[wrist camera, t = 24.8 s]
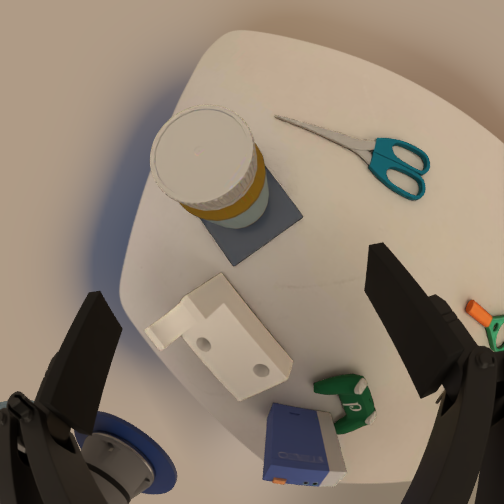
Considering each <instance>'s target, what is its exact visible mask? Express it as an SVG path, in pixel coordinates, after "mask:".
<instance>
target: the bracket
mask: <svg viewBox="0 0 504 504" xmlns="http://www.w3.org/2000/svg"><path fill="white" fill-rule="evenodd" d="M180 301H181V302H180V303H179V304H178V305H177V306H176V307H174V308H173V309H172V310H171V311H169V312H168V313H167V314H165V315H164V316H163V317H162V318H160V319H159V320H157V321H156V322H155V323H153V324H152V325H150V326H149V327H148V328H147V329H145V330H144V331H145V332H146V334H147V335H148V336H149V338H150V339H151V340H152V342H153V343H154V344H155V345H156V347H157V348H158V349H159V350H160V351H162V350H163V349H164V348H166V347H167V346H168V345H169V344H171V343H172V342H173V341H174V340H176V339H177V338H178V337H179V336H182V338H183V339H184V340H185V341H186V343H187V344H188V345H189V346H190V347H191V349H192V350H193V351H194V352H195V353H196V355H197V356H198V357H199V358H200V359H201V361H202V362H203V363H204V364H205V365H206V366H207V367H208V369H209V370H210V371H211V372H212V373H213V374H214V375H215V376H216V378H217V379H218V380H219V381H220V382H221V383H222V384H223V385H224V386H225V387H226V388H227V389H228V391H229V392H230V393H231V394H232V395H233V396H234V397H235V398H236V399H237V400H238V401H242V400H244V399H246V398H249V397H251V396H253V395H256V394H258V393H260V392H262V391H265V390H267V389H269V388H271V387H273V386H276V385H278V384H280V383H282V382H284V381H286V380H288V378H289V375H290V372H291V368H292V365H293V360H292V359H291V358H290V357H289V356H288V354H287V353H286V352H285V351H284V350H283V348H282V347H281V346H280V345H279V344H278V342H277V341H276V340H275V339H274V338H273V336H272V335H271V334H270V333H269V332H268V330H267V329H266V328H265V327H264V326H263V324H262V323H261V322H260V321H259V319H258V318H257V317H256V316H255V314H254V313H253V312H252V311H251V310H250V308H249V307H248V306H247V305H246V303H245V302H244V301H243V300H242V298H241V297H240V296H239V295H238V293H237V292H236V291H235V289H234V288H233V287H232V286H231V284H230V283H229V282H228V281H227V279H226V278H225V277H224V275H223V274H222V273H220V274H218V275H217V276H215V277H214V278H212V279H210V280H209V281H207V282H206V283H204V284H203V285H201V286H199V287H198V288H196V289H195V290H193V291H192V292H190V293H189V294H187V295H186V296H185V297H183V298H182V299H181V300H180Z"/></svg>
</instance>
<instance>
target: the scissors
mask: <svg viewBox="0 0 504 504" xmlns="http://www.w3.org/2000/svg"><path fill="white" fill-rule="evenodd" d="M275 118H278V119H281V120H283V121H286V122H289V123H291V124H294V125H296V126H299V127H301V128H304V129H306V130H309V131H311V132H313V133H316V134H318V135H320V136H322V137H325V138H327V139H329V140H331V141H333V142H335V143H337V144H340V145H342V146H344V147H346V148H348V149H350V150H352V151H353V152H355V153H357V154H358V155H359V156H360V157H361V158H362V159H363V160H364V161H365V162H366V163H368V164H369V167H368V169H369V170H370V171H371V172H372V173H373V174H374V175H375V176H376V177H377V178H378V179H379V180H380V181H381V182H382V183H383V184H384V185H386V186H387V187H388V188H389V189H391V190H392V191H394V192H396V193H397V194H399V195H401V196H403V197H405V198H407V199H410V200H418V199H420V198H421V197H422V196H423V195H424V193H425V183H424V180H423V179H422V177H421V175H424V174H425V173H426V172H428V171H429V168H430V161H429V158H428V156H427V155H426V153H425V152H423V151H422V150H421V149H419V148H417V147H415V146H413V145H411V144H409V143H407V142H404V141H401V140H396V139H391V138H377V139H376V140H375V141H372V140H361V139H357V138H353V137H350V136H348V135H345V134H342V133H339V132H336V131H332V130H329V129H326V128H322V127H319V126H315V125H312V124H309V123H305V122H302V121H298V120H294V119H290V118H287V117H283V116H279V115H275ZM394 145H395V146H400V147H403V148H405V149H407V150H410V151H412V152H413V153H415V154H417V155H418V156H420V157H421V158H422V160H423V163H424V168H423V170H422V171H421V170H418V169H416V168H414V167H412V166H410V165H408V164H407V163H405V162H403V161H402V160H400V159H399V158H397V156H396V155H395V154H394V152H393V150H392V146H394ZM368 150H373V152H372V155H371V154H370V152H369V151H368ZM387 169H394V170H397V171H400V172H402V173H404V174H406V175H408V176H410V177H412V178H413V179H415V180H416V181H417V183H418V185H419V193H418V194H417V195H416V196H415V195H412V194H410V193H408V192H406V191H404V190H402V189H401V188H399V187H397V186H396V185H394V184H393V183H391V182H390V180H389V179H388V177H387V175H386V171H387Z"/></svg>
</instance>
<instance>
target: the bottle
mask: <svg viewBox="0 0 504 504" xmlns="http://www.w3.org/2000/svg"><path fill="white" fill-rule="evenodd" d="M150 167H151V172H152V175H153V178H154V180H155V182H156V183H157V185H158V187H159V188H160V189H161V190H162V191H163V192H165V194H166V195H167V196H169V197H170V198H172V199H174V200H175V201H178V202H179V203H180V204H181V205H182V206H183V207H184V208H185V209H186V210H187V211H188V212H190V213H191V214H193V215H195V216H197V217H199V218H202V219H204V220H207V221H209V222H212V223H215V224H217V225H220V226H223V227H226V228H234V229H238V228H243V227H247V226H249V225H251V224H253V223H254V222H256V221H257V220H258V219H259V218H260V217H261V216H262V215H263V213H264V211H265V209H266V207H267V204H268V197H269V191H268V183H267V176H266V169H265V164H264V160H263V156H262V154H261V152H260V150H259V148H258V147H257V145H256V144H255V143H254V139H253V137H252V133H251V131H250V128H249V127H248V126H247V124H246V122H244V121H243V119H242V118H241V117H240V116H239V115H237V114H236V113H235V112H233V111H231V110H230V109H227V108H225V107H222V106H218V105H198V106H194V107H190V108H187V109H185V110H183V111H181V112H179V113H177V114H176V115H174V116H173V117H172V118H171V119H170V120H168V121H167V122H166V123H165V124H164V126H163V127H162V128H161V129H160V131H159V132H158V134H157V135H156V137H155V140H154V142H153V145H152V148H151V153H150Z"/></svg>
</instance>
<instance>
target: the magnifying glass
mask: <svg viewBox="0 0 504 504" xmlns="http://www.w3.org/2000/svg"><path fill="white" fill-rule="evenodd" d="M466 312H467V313H468V314H469V315H471V316H472V317H473V318H474V319H476V320H477V321H478V322H479V323H481V324H482V325H483V326H484V327H485V328H486V331H487V335H488V339H489V343H490V347H491V349H492V350H493V351H494V352H498V351H504V344H503V345H502V346H501V347H499V348H497V347H496V337H497V333H498V331H499V329H500V327H501V325H502V324H503V323H504V315H502V316H495V317H492V316H491V315H490V314H489V313H488V312H487V311H485V310H484V309H483V308H482V307H481V306H480V305H479V304H478V303H476V302H475V301H474V300H470V301H469V302H468V304H467V307H466ZM495 323H496V325H495ZM494 325H495V328H494V330H493V327H494Z"/></svg>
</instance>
